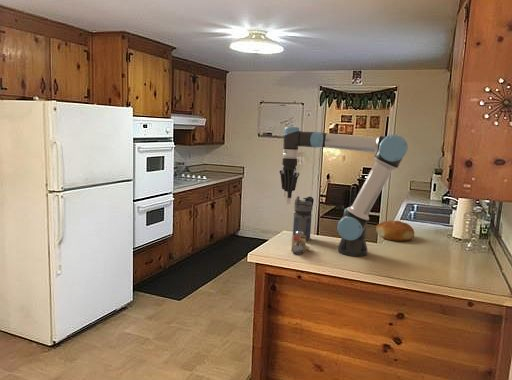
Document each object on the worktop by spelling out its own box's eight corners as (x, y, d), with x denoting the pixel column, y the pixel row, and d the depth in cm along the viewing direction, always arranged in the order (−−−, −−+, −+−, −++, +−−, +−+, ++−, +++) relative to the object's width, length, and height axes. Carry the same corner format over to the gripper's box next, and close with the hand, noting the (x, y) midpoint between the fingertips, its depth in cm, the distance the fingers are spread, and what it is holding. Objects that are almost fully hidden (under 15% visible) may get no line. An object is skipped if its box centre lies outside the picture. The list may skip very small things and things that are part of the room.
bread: (368, 237, 253) (369, 220, 251) (384, 231, 271) (385, 216, 269) (405, 244, 238) (406, 227, 237) (419, 238, 256) (421, 222, 255)
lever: (296, 234, 220) (296, 230, 219) (303, 234, 219) (303, 231, 219) (292, 240, 206) (292, 236, 206) (300, 241, 205) (300, 237, 205)
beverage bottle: (316, 239, 241) (319, 196, 238) (300, 242, 233) (303, 198, 229) (303, 235, 249) (306, 194, 245) (287, 238, 240) (290, 195, 237)
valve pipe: (292, 245, 228) (293, 231, 227) (305, 246, 227) (306, 232, 226) (290, 255, 210) (291, 239, 209) (304, 256, 209) (305, 240, 208)
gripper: (276, 156, 213) (273, 202, 216) (293, 158, 202) (290, 206, 206) (287, 156, 217) (284, 201, 220) (304, 158, 207) (301, 205, 210)
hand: (287, 203), depth 213 cm, fingers closed
